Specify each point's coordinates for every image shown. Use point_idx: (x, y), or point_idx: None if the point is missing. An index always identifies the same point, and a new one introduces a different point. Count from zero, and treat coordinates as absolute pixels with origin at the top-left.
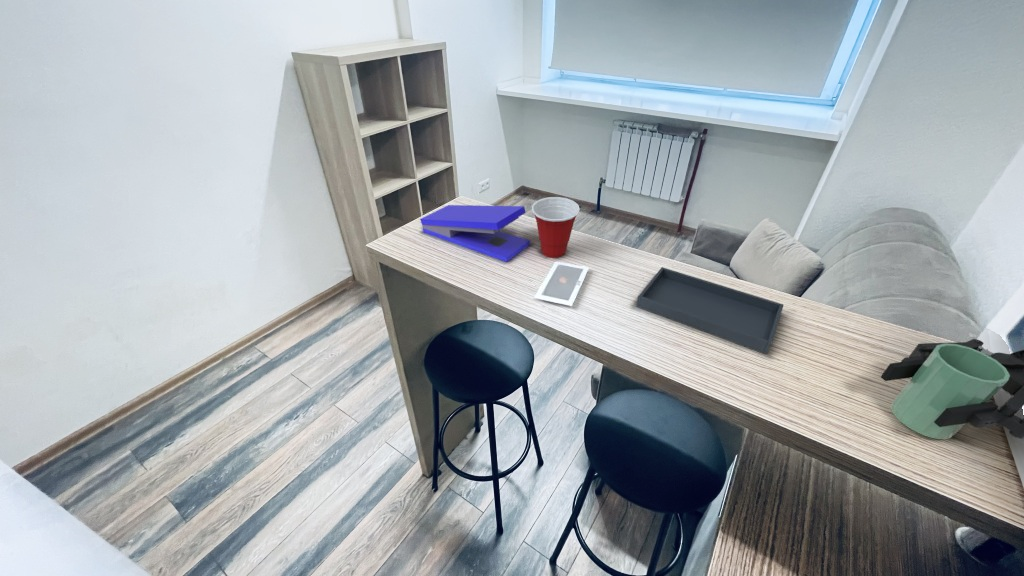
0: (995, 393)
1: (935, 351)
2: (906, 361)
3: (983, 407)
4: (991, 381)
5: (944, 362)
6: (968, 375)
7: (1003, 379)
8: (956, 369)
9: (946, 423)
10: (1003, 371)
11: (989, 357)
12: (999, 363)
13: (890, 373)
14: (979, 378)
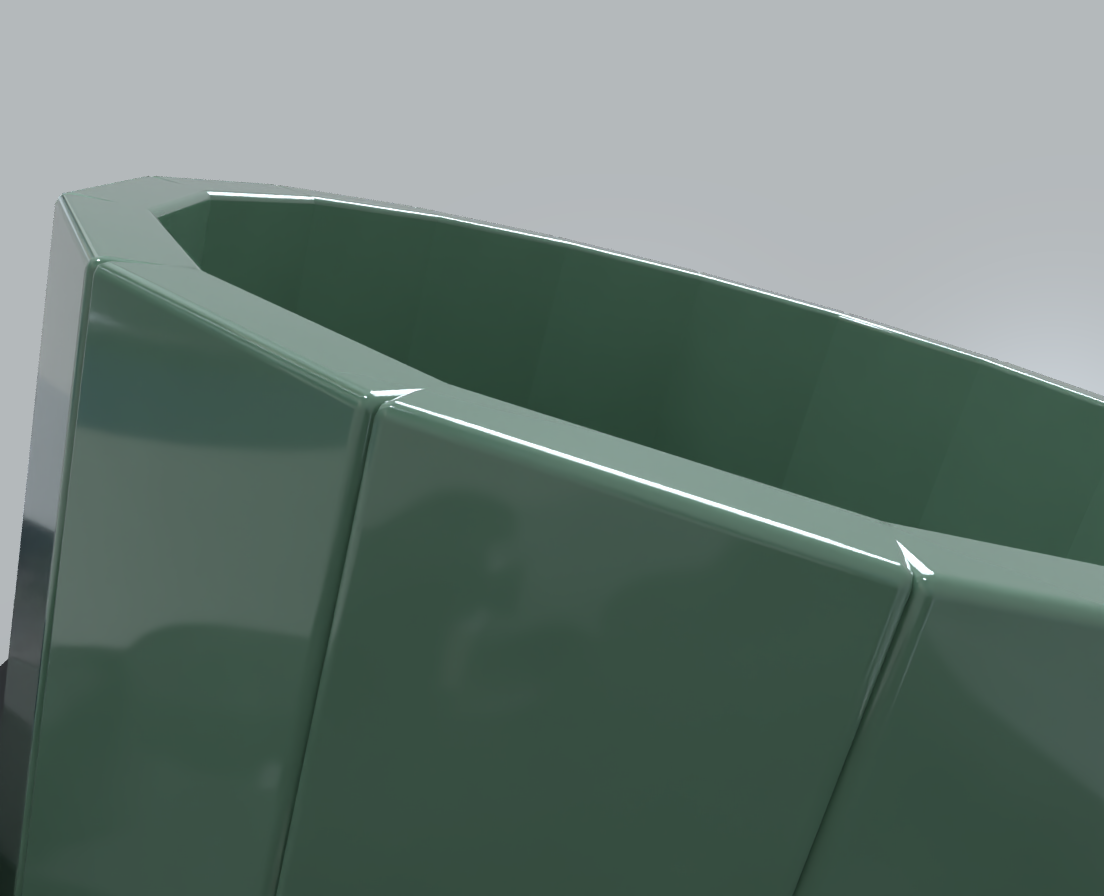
0: (7, 670)
1: (958, 347)
2: None
3: (5, 682)
4: (245, 189)
5: (722, 279)
6: (459, 218)
7: (145, 200)
8: (585, 244)
9: None
10: (303, 323)
11: (1090, 575)
12: (686, 471)
13: None
14: (367, 206)
